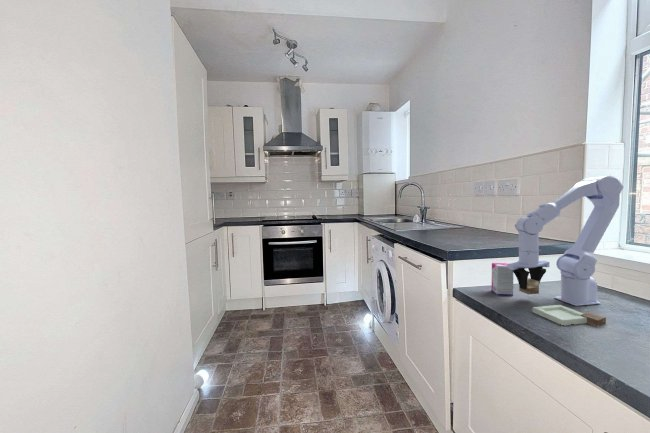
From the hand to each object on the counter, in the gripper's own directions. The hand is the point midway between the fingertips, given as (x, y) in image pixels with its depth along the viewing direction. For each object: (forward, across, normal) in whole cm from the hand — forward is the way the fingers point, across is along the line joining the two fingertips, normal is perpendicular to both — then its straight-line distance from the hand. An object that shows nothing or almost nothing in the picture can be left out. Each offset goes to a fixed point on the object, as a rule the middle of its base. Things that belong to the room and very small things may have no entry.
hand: (528, 288), depth 99 cm
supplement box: (+5, +3, -9) cm, 11 cm away
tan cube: (+2, 0, 0) cm, 2 cm away
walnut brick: (+5, -3, +19) cm, 20 cm away
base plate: (+5, +2, +14) cm, 15 cm away
